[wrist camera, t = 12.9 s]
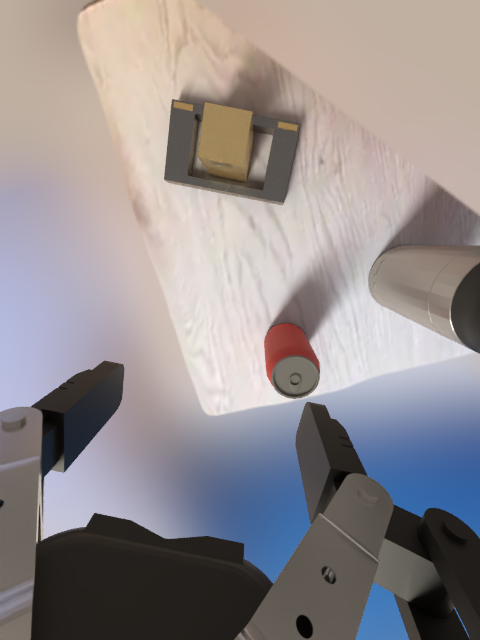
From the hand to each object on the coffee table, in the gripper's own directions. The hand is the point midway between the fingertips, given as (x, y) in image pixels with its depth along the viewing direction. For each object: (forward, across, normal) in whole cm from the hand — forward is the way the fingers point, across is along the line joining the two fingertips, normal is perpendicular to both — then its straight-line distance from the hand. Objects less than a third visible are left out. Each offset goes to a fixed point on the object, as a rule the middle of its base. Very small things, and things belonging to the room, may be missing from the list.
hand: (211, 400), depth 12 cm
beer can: (+30, -8, +7) cm, 32 cm away
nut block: (+30, +5, -17) cm, 35 cm away
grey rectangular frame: (+30, +5, -17) cm, 35 cm away
